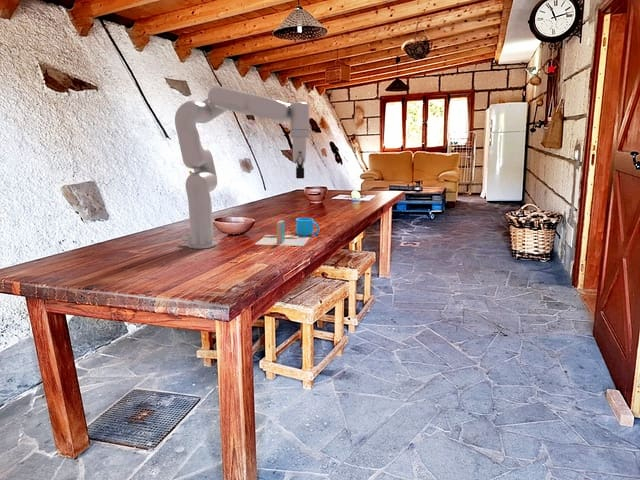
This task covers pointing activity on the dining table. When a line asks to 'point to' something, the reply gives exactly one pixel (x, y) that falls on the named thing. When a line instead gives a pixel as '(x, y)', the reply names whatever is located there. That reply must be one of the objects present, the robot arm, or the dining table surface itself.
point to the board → (273, 241)
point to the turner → (285, 236)
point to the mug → (305, 226)
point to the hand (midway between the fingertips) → (300, 177)
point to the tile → (280, 231)
